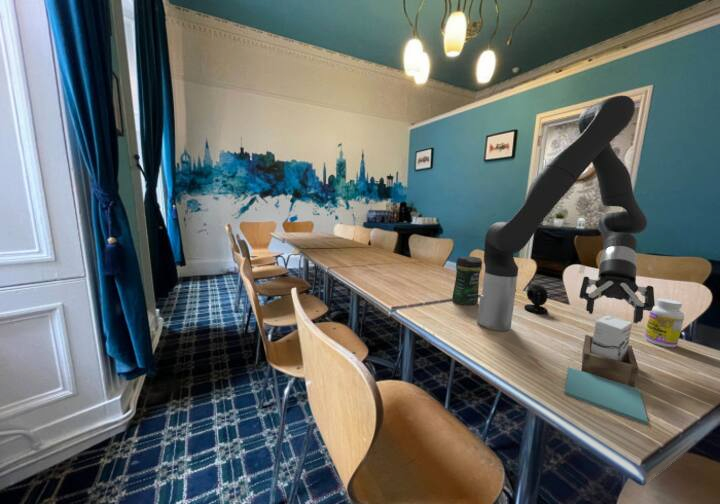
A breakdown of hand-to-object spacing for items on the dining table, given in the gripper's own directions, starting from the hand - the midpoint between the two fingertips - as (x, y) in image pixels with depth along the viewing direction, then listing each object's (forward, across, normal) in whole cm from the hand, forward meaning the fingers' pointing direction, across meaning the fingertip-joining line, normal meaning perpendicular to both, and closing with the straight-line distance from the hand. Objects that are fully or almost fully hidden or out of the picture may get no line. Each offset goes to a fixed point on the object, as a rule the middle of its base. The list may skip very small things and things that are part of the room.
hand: (612, 317), depth 70 cm
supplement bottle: (-8, +13, +25) cm, 29 cm away
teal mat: (+22, -1, -6) cm, 23 cm away
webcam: (-11, -19, +27) cm, 35 cm away
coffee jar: (-4, -42, +20) cm, 47 cm away
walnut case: (+12, 0, +4) cm, 12 cm away
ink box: (+12, 0, +4) cm, 13 cm away
